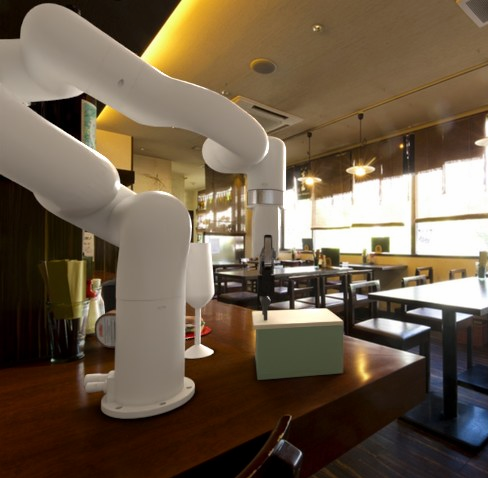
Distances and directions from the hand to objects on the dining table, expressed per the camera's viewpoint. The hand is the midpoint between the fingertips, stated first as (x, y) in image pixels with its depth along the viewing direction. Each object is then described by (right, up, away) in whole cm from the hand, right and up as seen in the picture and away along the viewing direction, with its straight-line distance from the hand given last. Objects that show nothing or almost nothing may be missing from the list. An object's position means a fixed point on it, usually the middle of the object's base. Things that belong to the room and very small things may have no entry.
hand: (265, 295), depth 64 cm
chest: (+6, -14, +1) cm, 15 cm away
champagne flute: (-16, -14, +7) cm, 23 cm away
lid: (+6, -5, +1) cm, 8 cm away
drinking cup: (-42, -14, +21) cm, 49 cm away
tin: (-33, -14, +10) cm, 38 cm away
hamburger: (-26, -14, +23) cm, 38 cm away
